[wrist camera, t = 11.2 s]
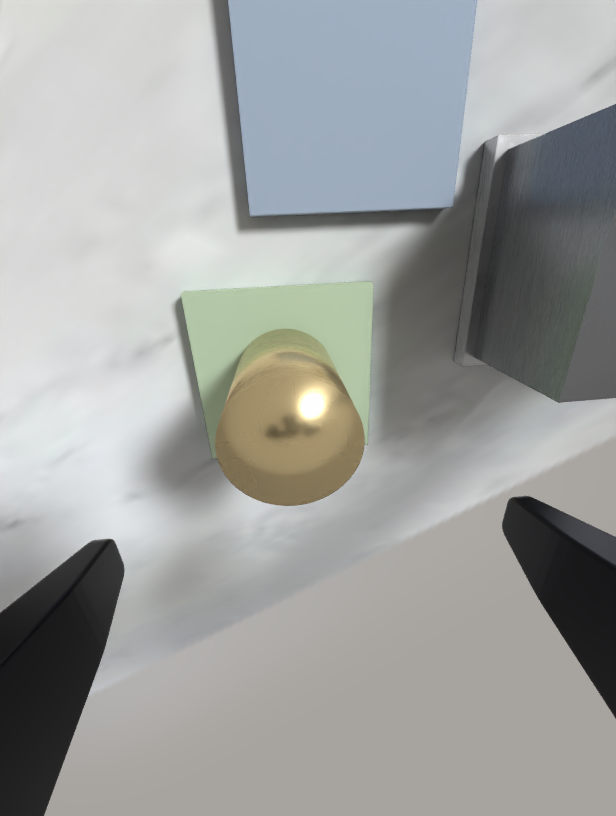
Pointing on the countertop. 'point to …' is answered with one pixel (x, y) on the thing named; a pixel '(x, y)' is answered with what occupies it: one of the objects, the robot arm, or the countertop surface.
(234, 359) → the sage mat
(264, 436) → the gold metal cylinder
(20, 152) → the countertop surface
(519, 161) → the grey block with base
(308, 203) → the slate mat
